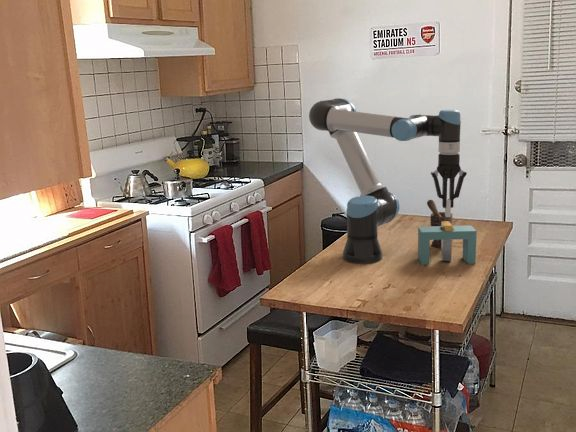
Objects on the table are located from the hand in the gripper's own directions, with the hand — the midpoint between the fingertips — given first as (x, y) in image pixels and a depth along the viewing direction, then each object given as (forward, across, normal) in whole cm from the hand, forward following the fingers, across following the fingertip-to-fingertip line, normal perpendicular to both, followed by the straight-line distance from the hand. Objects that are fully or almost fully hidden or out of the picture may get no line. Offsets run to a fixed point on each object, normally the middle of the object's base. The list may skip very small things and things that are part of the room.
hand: (447, 216), depth 246 cm
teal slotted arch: (+17, 0, 0) cm, 17 cm away
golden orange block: (+17, 0, 0) cm, 17 cm away
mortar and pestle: (+18, +1, +19) cm, 26 cm away
